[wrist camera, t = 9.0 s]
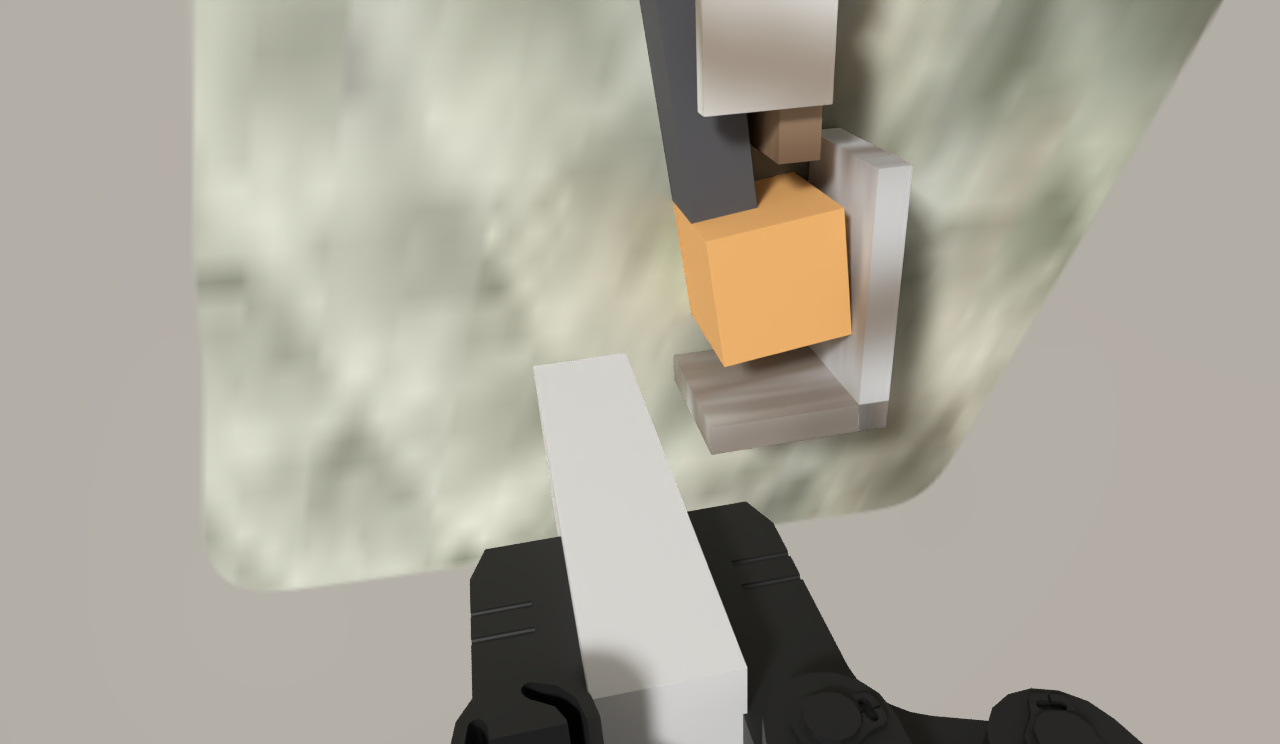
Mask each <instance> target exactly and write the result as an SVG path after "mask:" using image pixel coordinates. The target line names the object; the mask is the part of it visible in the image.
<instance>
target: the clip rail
mask: <svg viewBox="0 0 1280 744" xmlns="http://www.w3.org/2000/svg"><path fill="white" fill-rule="evenodd" d="M695 5H696V54H697V103H698V113H700V114H701V115H702V116H704V117H708V116H718V115H728V114H738V113H746V114H747V122H748V131H749V140H750V144H751V145H752V146H754V147H755V148H757V149H758V150H759V151H761V152H762V153H763V154H765V155H766V156H768V157H769V158H770V159H772V160H773V161H774V162H776V163H777V164H787V163H796V162H805V161H809V183H810V184H811V185H813V186H814V187H816V188H817V189H818V190H820V191H821V192H823V193H824V194H825V195H827V196H828V197H830V198H831V199H832V200H834V201H835V202H837V203H838V204H839V205H841V206H842V207H844V213H845V230H846V247H847V264H848V280H849V297H850V314H851V331H852V334H850V335H847V336H843V337H839V338H835V339H831V340H827V341H823V342H820V343H816V344H812V345H808V346H804V347H800V348H796V349H793V350H789V351H785V352H781V353H777V354H773V355H769V356H766V357H762V358H758V359H754V360H750V361H746V362H742V363H739V364H735V365H731V366H727V367H724V366H723V364H722V362H721V361H720V359H719V358H718V356H717V354H716V353H715V351H714V350H711V351H703V352H696V353H689V354H682V355H675V356H674V373H675V381H676V383H677V386H678V388H679V390H680V392H681V394H682V396H683V398H684V400H685V402H686V404H687V406H688V408H689V410H690V412H691V414H692V416H693V418H694V420H695V422H696V424H697V426H698V428H699V430H700V432H701V434H702V436H703V438H704V440H705V442H706V445H707V447H708V449H709V451H710V453H711V455H713V454H719V453H725V452H732V451H738V450H744V449H751V448H757V447H763V446H769V445H776V444H782V443H788V442H795V441H801V440H807V439H813V438H820V437H826V436H832V435H839V434H845V433H851V432H857V431H864V430H870V429H876V428H883V427H886V423H887V413H888V403H889V393H890V384H891V374H892V364H893V354H894V345H895V335H896V325H897V315H898V306H899V296H900V286H901V276H902V267H903V257H904V247H905V237H906V228H907V218H908V208H909V198H910V189H911V179H912V169H913V165H911V164H910V163H908V162H906V161H904V160H902V159H900V158H898V157H896V156H894V155H892V154H890V153H888V152H886V151H884V150H882V149H880V148H878V147H876V146H875V145H873V144H871V143H869V142H867V141H865V140H863V139H861V138H859V137H857V136H855V135H853V134H851V133H849V132H847V131H845V130H843V129H842V128H831V129H822V112H823V105H830V104H833V87H834V69H835V51H836V32H837V14H838V0H695Z"/></svg>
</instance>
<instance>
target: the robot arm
mask: <svg viewBox="0 0 1280 744" xmlns="http://www.w3.org/2000/svg"><path fill="white" fill-rule="evenodd" d="M533 369H534V376H535V383H536V390H537V396H538V403H539V410H540V417H541V424H542V431H543V438H544V445H545V452H546V459H547V466H548V473H549V480H550V487H551V494H552V501H553V507H554V513H555V519H556V525H557V531H558V537H554V538H548V539H543V540H537V541H531V542H526V543H520V544H514V545H508V546H503V547H497V548H491V549H486V550H485V551H484V553H483V555H482V557H481V559H480V561H479V563H478V565H477V567H476V569H475V571H474V573H473V575H472V577H471V579H470V607H471V640H472V646H471V653H472V654H471V655H472V700H471V701H470V703H469V704H468V706H467V707H466V708H465V710H464V711H463V713H462V714H461V716H460V717H459V719H458V720H457V721H456V723H455V728H454V732H453V737H452V741H451V744H1142V743H1141V742H1140V741H1139V740H1138V739H1137V738H1136V737H1134V736H1133V735H1132V734H1131V733H1130V732H1129V731H1128V730H1126V729H1125V728H1124V727H1123V726H1122V725H1121V724H1119V723H1118V722H1117V721H1116V720H1115V719H1114V718H1112V717H1111V716H1109V715H1108V714H1106V713H1105V712H1103V711H1102V710H1100V709H1099V708H1097V707H1096V706H1094V705H1093V704H1091V703H1090V702H1088V701H1086V700H1083V699H1080V698H1078V697H1075V696H1072V695H1069V694H1067V693H1064V692H1061V691H1056V690H1044V689H1032V688H1031V689H1027V690H1023V691H1019V692H1015V693H1011V694H1008V695H1007V696H1006V697H1004V698H1003V699H1002V700H1001V701H1000V702H999V703H998V704H996V705H995V706H994V707H993V708H992V711H991V714H990V718H989V721H983V720H972V719H959V718H949V717H938V716H929V715H924V714H918V713H912V712H909V711H906V710H904V709H901V708H898V707H896V706H893V705H891V704H889V703H887V702H886V701H885V700H884V699H883V697H882V696H881V695H880V694H879V693H877V692H876V691H875V690H873V689H872V688H870V687H868V686H867V685H865V684H864V683H862V682H860V681H859V680H857V679H856V677H855V676H854V675H853V673H852V672H851V670H850V669H849V667H848V666H847V664H846V662H845V660H844V658H843V656H842V654H841V652H840V650H839V648H838V646H837V645H836V643H835V641H834V639H833V637H832V635H831V633H830V631H829V629H828V627H827V625H826V624H825V622H824V620H823V618H822V616H821V614H820V612H819V610H818V608H817V606H816V605H815V602H814V600H813V599H812V597H811V595H810V593H809V591H808V589H807V587H806V585H805V583H804V581H803V580H801V579H800V574H799V572H798V570H797V568H796V566H795V564H794V562H793V560H792V558H791V557H790V556H788V551H787V549H786V547H785V545H784V543H783V541H782V539H781V537H780V535H779V533H778V531H777V530H776V528H775V526H774V524H773V522H771V521H770V520H769V519H768V518H766V517H765V516H764V515H762V514H761V513H760V512H759V511H757V510H756V509H755V508H754V507H752V506H751V505H750V504H748V503H747V502H740V503H734V504H729V505H723V506H717V507H711V508H706V509H700V510H694V511H689V512H687V511H686V508H685V506H684V503H683V500H682V498H681V495H680V493H679V490H678V487H677V485H676V482H675V480H674V477H673V475H672V472H671V469H670V467H669V464H668V462H667V459H666V456H665V454H664V451H663V449H662V446H661V444H660V441H659V438H658V436H657V433H656V431H655V428H654V425H653V423H652V420H651V418H650V415H649V413H648V410H647V407H646V405H645V402H644V400H643V397H642V394H641V392H640V389H639V387H638V384H637V381H636V379H635V376H634V374H633V371H632V369H631V366H630V363H629V361H628V358H627V356H626V353H621V354H614V355H607V356H600V357H594V358H587V359H580V360H573V361H566V362H559V363H553V364H546V365H539V366H533Z"/></svg>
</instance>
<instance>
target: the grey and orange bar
mask: <svg viewBox="0 0 1280 744" xmlns="http://www.w3.org/2000/svg"><path fill="white" fill-rule="evenodd" d="M640 6H641V12H642V18H643V24H644V30H645V36H646V42H647V48H648V55H649V61H650V67H651V73H652V79H653V85H654V91H655V97H656V103H657V109H658V115H659V121H660V127H661V133H662V139H663V145H664V151H665V158H666V164H667V170H668V176H669V182H670V188H671V194H672V200H673V206H674V212H675V218H676V224H677V230H678V236H679V242H680V248H681V254H682V260H683V267H684V273H685V279H686V285H687V291H688V297H689V303H690V309H691V314H692V316H693V317H694V319H695V320H696V322H697V324H698V325H699V327H700V328H701V330H702V332H703V333H704V335H705V337H706V338H707V340H708V341H709V343H710V345H711V346H712V348H713V350H714V351H715V353H716V354H717V356H718V358H719V359H720V361H721V362H722V364H723V366H724V367H727V366H731V365H735V364H739V363H742V362H746V361H750V360H754V359H758V358H762V357H766V356H769V355H773V354H777V353H781V352H785V351H789V350H793V349H796V348H800V347H804V346H808V345H812V344H816V343H820V342H823V341H827V340H831V339H835V338H839V337H843V336H847V335H850V334H852V331H851V314H850V297H849V280H848V264H847V247H846V230H845V213H844V207H842V206H841V205H839V204H838V203H837V202H835V201H834V200H832V199H831V198H830V197H828V196H827V195H825V194H824V193H823V192H821V191H820V190H818V189H817V188H816V187H814V186H813V185H811V184H810V183H809V182H807V181H806V180H804V179H803V178H802V177H800V176H799V175H798V174H796V173H795V172H790V173H785V174H781V175H777V176H773V177H769V178H765V179H761V180H756V181H754V175H753V167H752V158H751V149H750V140H749V131H748V122H747V114H746V113H738V114H728V115H718V116H708V117H704V116H702V115H701V114H700V113H698V103H697V54H696V5H695V0H640Z"/></svg>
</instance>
